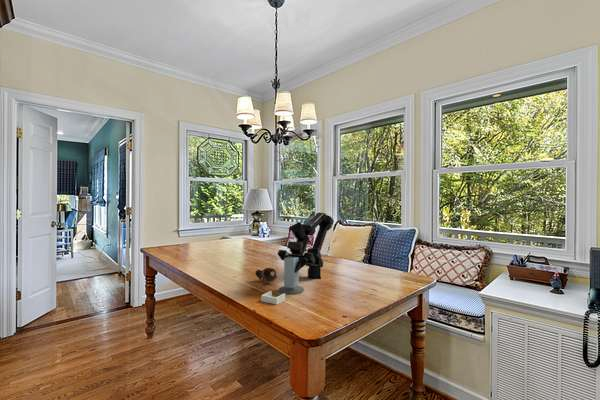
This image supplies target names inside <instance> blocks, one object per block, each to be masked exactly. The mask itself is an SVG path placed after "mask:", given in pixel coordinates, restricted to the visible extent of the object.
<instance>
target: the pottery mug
mask: <svg viewBox="0 0 600 400" xmlns="http://www.w3.org/2000/svg"><path fill="white" fill-rule="evenodd" d="M271 273H274V274H273V275H272V274H271ZM255 276H256V277H257V278H258V279H259V281H261V280H262V284H263V285H266V284H268V283H270V282H273V281H275V280H276V279H277V278H278V275H277V271H276V270H275V269H274V268H272V267H265V268H263V269H256V271H255Z"/></svg>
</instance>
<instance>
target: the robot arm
mask: <svg viewBox="0 0 600 400" xmlns="http://www.w3.org/2000/svg"><path fill="white" fill-rule="evenodd" d="M334 222H335V221H334V219H333V217H332V216H330V215H329V214H326V212H316V214H315V215H314V216H313V217H312V218H311V219H310V220H309V221H308V222H304V223H302V222H301V221H297V222H296V223H294V224H293V225H292V226H290V232H291V233H292V235H293V236H294V238H295V239H296V241H288V242H287V246H286V248H287V249H289V252H290V253H289V252H288V251H287V250H286V249H279V250H278V251H277V256H278V257H279V259H280V260H282V261H284V258H286V257H289V256H291V257H299V261H298V263H297V266H296V268H295V271H294V272H295V273H296V272H297V271H299V272H300V270H301V269H302V268H303V267H305V266H306V267H308V268H307V277H308V279H309V280H310V279H311V280H313V279H314V280H315V279H321V278H322V277H321V276H322V275H321V269H322V268H323V267H324V260H323V258H322V254H321V253H322V252H321V251H322V247H323V245H324V242H325V239H326V235H327V232H328V231H329V230H331V229H332V226H333V225H334ZM317 227H319V228H318V230H317V233H316V228H317ZM315 233H316V237H315V239H314V241H313V244H312V247H311V248H308V249H306V248H307V246H308V244H310V243H311V239H310V237H309V236H314V235H315Z"/></svg>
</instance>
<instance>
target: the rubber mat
mask: <svg viewBox="0 0 600 400" xmlns="http://www.w3.org/2000/svg"><path fill="white" fill-rule="evenodd" d="M304 291H305V288H304V287H303V286H301V285H297V286H295V287H289V286H284V285H283V286H280V287H279V288H278V292H279V293H280V294H283V293H285V295H298V294H302V293H304Z"/></svg>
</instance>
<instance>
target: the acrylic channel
mask: <svg viewBox="0 0 600 400" xmlns="http://www.w3.org/2000/svg"><path fill="white" fill-rule="evenodd" d="M260 299H261V302H263V303H268V304H273V305H278V304H280V303H282V302H283V301H285V300H286V294H285V293H281V294H280V295H279V296H278V295H277V296H276V297H275V296H273V291H272V290H269V291H267V292H266V293H263V294H262V295H261V297H260Z"/></svg>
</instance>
